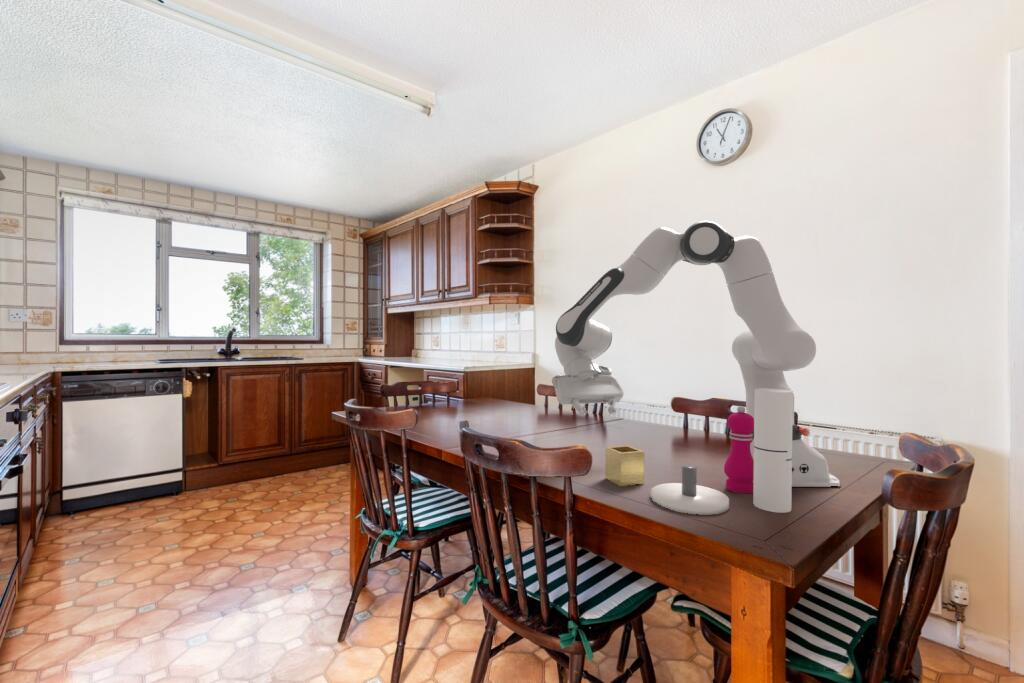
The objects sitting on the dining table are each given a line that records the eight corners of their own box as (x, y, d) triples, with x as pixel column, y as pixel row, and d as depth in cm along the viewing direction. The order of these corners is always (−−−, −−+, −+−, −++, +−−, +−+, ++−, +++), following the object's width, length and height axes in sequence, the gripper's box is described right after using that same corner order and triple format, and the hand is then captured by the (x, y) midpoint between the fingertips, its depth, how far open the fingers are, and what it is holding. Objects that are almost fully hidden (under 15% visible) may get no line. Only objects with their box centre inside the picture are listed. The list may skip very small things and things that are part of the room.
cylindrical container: (746, 500, 102) (747, 388, 102) (777, 500, 103) (778, 388, 103) (766, 512, 95) (767, 392, 95) (799, 512, 96) (800, 392, 96)
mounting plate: (717, 491, 108) (717, 459, 108) (739, 517, 93) (739, 480, 93) (646, 487, 111) (647, 456, 111) (656, 511, 95) (657, 475, 95)
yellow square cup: (605, 478, 118) (605, 447, 118) (627, 476, 120) (628, 445, 120) (620, 486, 111) (620, 453, 111) (643, 483, 114) (644, 451, 114)
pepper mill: (753, 486, 113) (754, 404, 113) (760, 495, 106) (761, 408, 106) (721, 483, 115) (722, 403, 115) (726, 492, 108) (727, 407, 108)
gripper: (553, 368, 131) (569, 408, 121) (615, 368, 138) (634, 405, 129) (546, 383, 135) (561, 422, 126) (606, 381, 142) (624, 418, 133)
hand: (598, 413), depth 127 cm, fingers open, 8 cm apart
